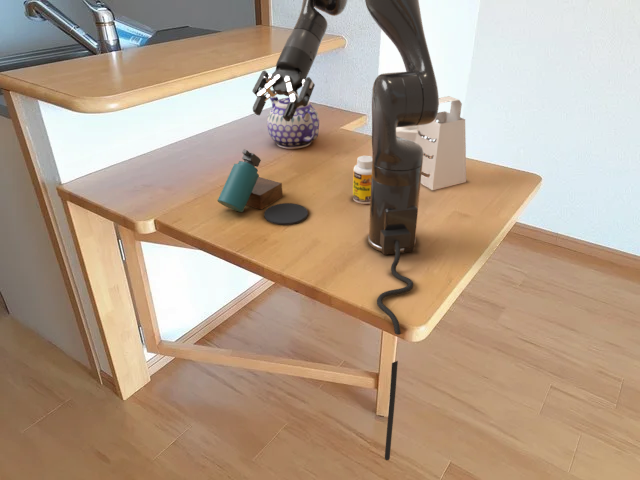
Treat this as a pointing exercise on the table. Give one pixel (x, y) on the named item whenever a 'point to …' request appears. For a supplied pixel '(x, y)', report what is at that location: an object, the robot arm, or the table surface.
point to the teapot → (292, 124)
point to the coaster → (286, 214)
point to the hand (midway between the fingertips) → (270, 116)
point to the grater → (444, 148)
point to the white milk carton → (407, 132)
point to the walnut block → (264, 193)
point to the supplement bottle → (362, 180)
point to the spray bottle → (240, 182)
